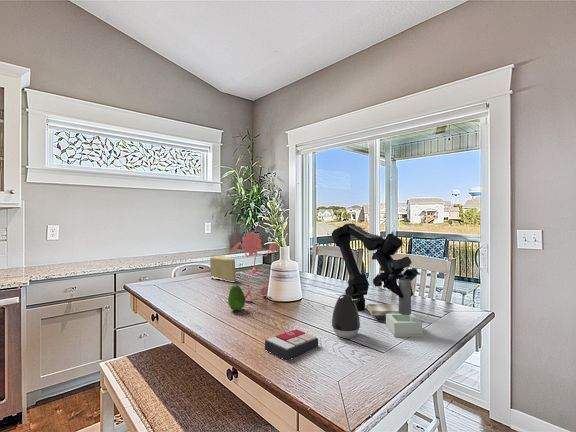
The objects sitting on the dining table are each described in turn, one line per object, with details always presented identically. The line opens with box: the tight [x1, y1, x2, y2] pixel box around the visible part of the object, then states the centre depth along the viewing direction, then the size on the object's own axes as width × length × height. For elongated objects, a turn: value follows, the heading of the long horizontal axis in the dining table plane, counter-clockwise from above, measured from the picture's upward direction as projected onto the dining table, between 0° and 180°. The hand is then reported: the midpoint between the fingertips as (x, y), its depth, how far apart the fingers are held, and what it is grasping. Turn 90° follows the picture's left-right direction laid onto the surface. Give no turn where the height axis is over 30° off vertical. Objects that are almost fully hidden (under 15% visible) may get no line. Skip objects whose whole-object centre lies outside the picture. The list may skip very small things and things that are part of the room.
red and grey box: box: [264, 329, 319, 361], centre depth 108 cm, size 11×4×15 cm
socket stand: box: [385, 312, 423, 338], centre depth 120 cm, size 10×10×5 cm
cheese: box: [209, 255, 237, 281], centre depth 208 cm, size 22×10×15 cm, turn 43°
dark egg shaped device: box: [331, 293, 361, 339], centre depth 117 cm, size 10×10×15 cm
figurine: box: [229, 230, 277, 302], centre depth 167 cm, size 15×26×35 cm, turn 128°
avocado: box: [227, 284, 246, 311], centre depth 148 cm, size 8×8×12 cm
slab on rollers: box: [366, 303, 399, 321], centre depth 135 cm, size 14×9×4 cm, turn 90°
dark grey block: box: [398, 279, 412, 315], centre depth 120 cm, size 4×4×12 cm
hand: (407, 296), depth 119 cm, fingers closed on dark grey block, 4 cm apart
